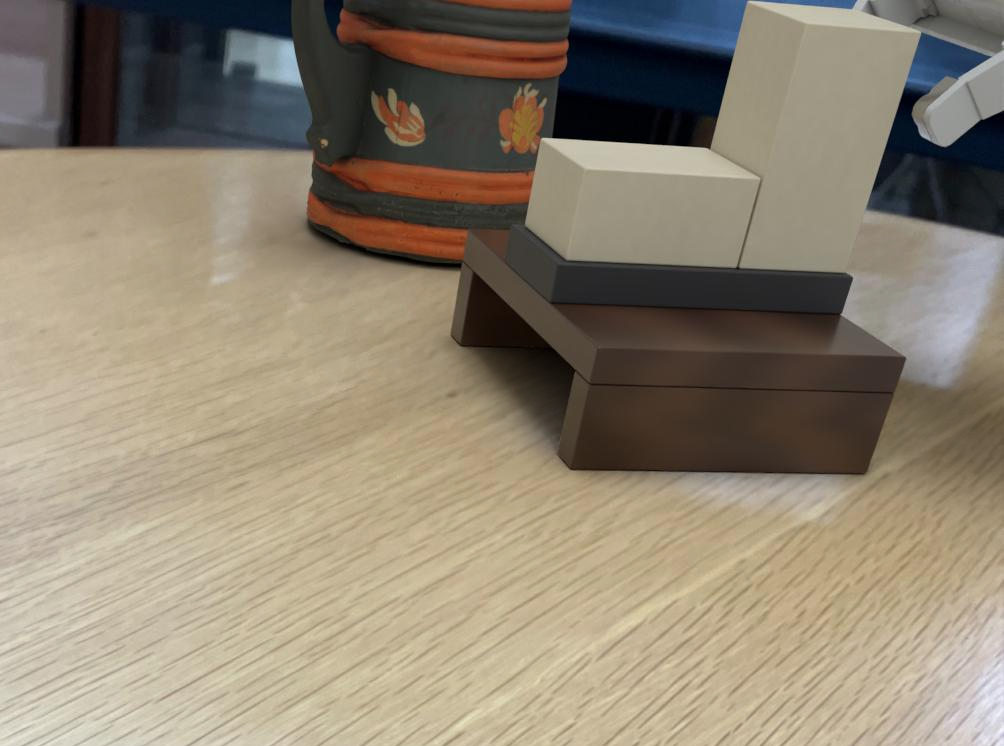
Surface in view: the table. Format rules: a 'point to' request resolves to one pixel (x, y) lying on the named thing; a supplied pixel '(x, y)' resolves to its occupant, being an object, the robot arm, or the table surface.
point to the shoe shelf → (690, 376)
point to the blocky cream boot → (730, 180)
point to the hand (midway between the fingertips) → (869, 106)
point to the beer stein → (427, 117)
